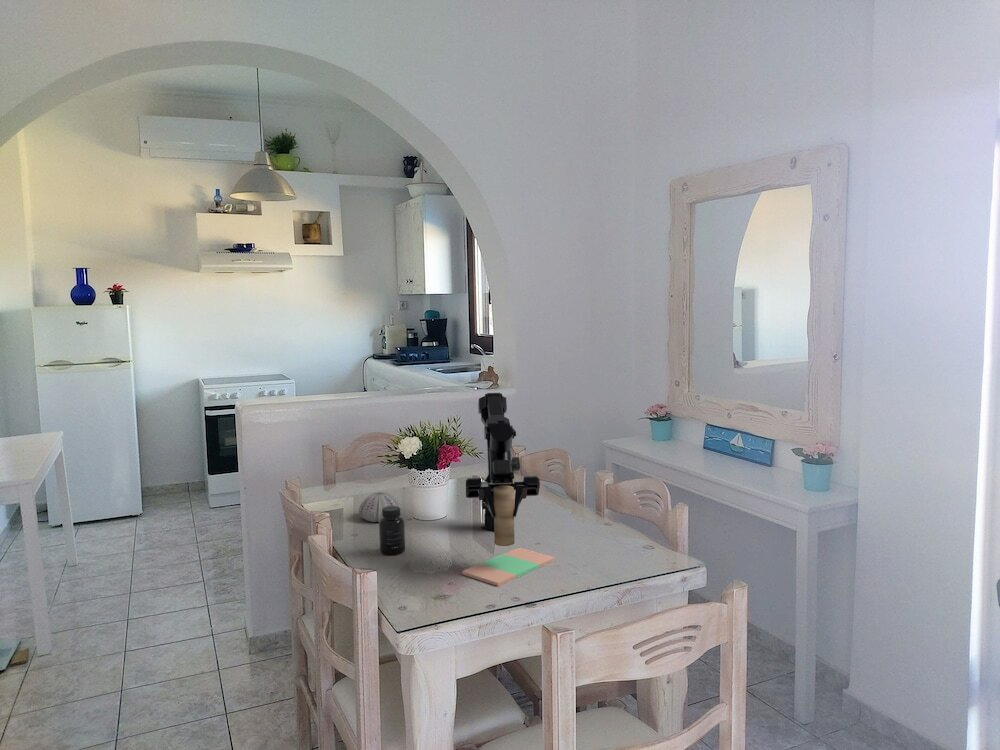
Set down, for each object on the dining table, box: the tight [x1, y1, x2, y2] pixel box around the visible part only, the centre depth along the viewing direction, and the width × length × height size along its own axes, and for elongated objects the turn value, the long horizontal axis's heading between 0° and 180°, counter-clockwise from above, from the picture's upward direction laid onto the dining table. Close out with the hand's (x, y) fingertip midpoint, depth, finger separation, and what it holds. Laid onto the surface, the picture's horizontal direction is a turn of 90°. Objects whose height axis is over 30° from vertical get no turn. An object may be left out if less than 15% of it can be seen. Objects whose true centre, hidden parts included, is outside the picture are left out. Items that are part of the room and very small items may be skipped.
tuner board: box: [461, 547, 556, 587], centre depth 183 cm, size 22×12×1 cm, turn 139°
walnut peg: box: [493, 486, 515, 547], centre depth 182 cm, size 5×5×14 cm
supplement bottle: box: [378, 506, 406, 557], centre depth 195 cm, size 7×7×12 cm
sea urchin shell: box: [358, 491, 402, 523], centre depth 227 cm, size 13×14×8 cm
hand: (504, 516), depth 180 cm, fingers closed on walnut peg, 5 cm apart
